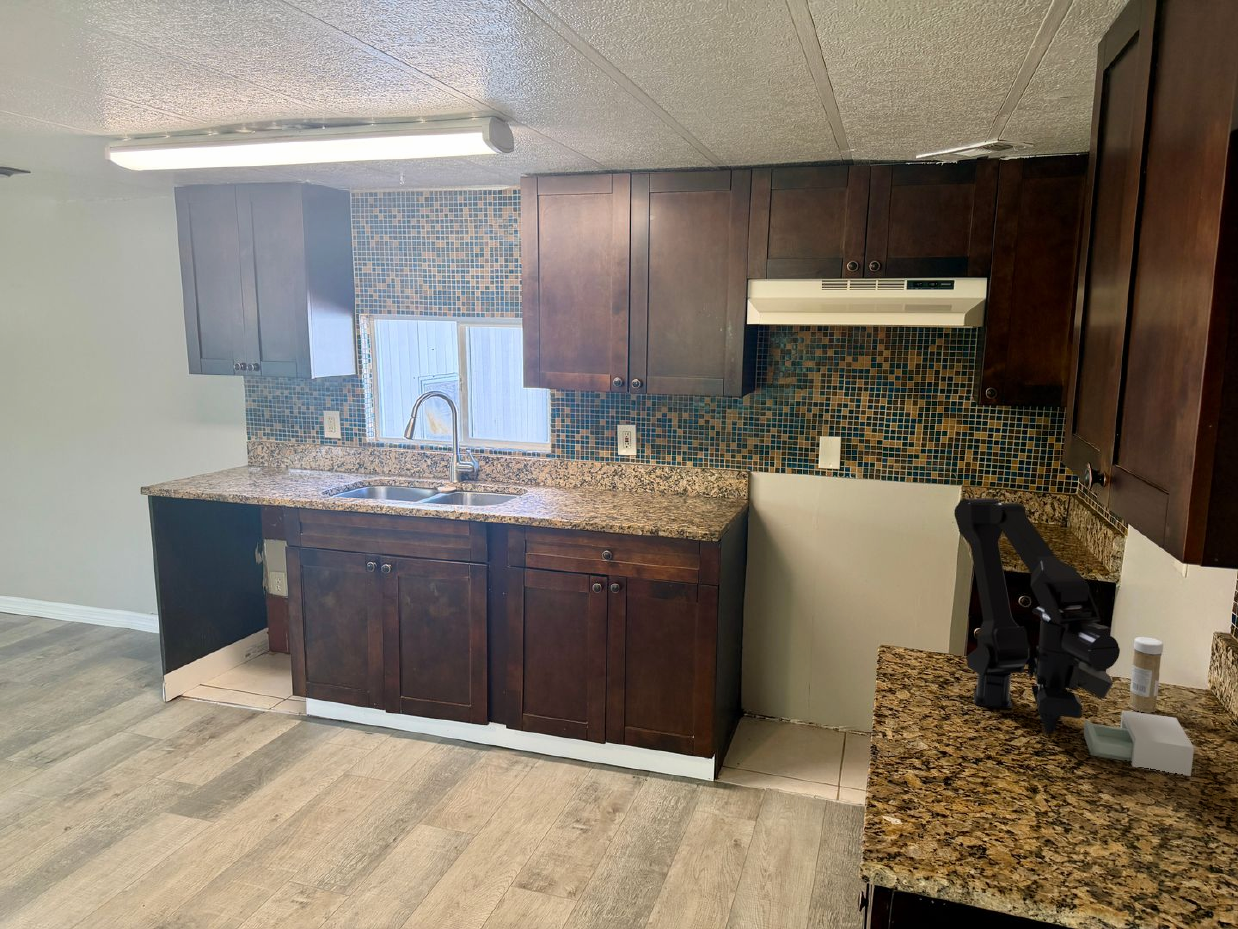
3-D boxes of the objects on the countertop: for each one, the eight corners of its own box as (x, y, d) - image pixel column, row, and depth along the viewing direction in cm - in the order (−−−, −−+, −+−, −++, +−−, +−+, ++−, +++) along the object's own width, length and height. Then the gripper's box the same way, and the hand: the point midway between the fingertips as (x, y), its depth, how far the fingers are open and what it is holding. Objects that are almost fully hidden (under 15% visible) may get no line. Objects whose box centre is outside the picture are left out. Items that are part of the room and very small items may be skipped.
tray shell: (1083, 734, 148) (1084, 720, 148) (1163, 746, 144) (1164, 732, 143) (1090, 755, 140) (1092, 740, 140) (1175, 768, 136) (1176, 753, 136)
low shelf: (1119, 736, 147) (1122, 710, 147) (1173, 744, 144) (1176, 718, 144) (1132, 766, 137) (1135, 738, 136) (1190, 776, 134) (1194, 747, 133)
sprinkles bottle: (1162, 713, 157) (1169, 643, 155) (1141, 715, 156) (1149, 645, 154) (1141, 703, 161) (1148, 635, 159) (1121, 705, 160) (1128, 637, 158)
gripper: (1122, 674, 132) (1112, 767, 135) (1100, 635, 150) (1092, 718, 152) (1043, 664, 136) (1035, 755, 139) (1031, 627, 154) (1023, 708, 156)
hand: (1048, 733), depth 146 cm, fingers closed
